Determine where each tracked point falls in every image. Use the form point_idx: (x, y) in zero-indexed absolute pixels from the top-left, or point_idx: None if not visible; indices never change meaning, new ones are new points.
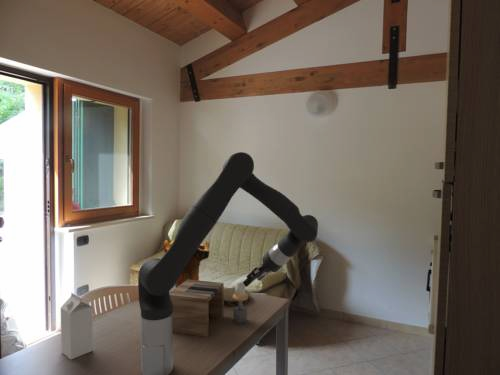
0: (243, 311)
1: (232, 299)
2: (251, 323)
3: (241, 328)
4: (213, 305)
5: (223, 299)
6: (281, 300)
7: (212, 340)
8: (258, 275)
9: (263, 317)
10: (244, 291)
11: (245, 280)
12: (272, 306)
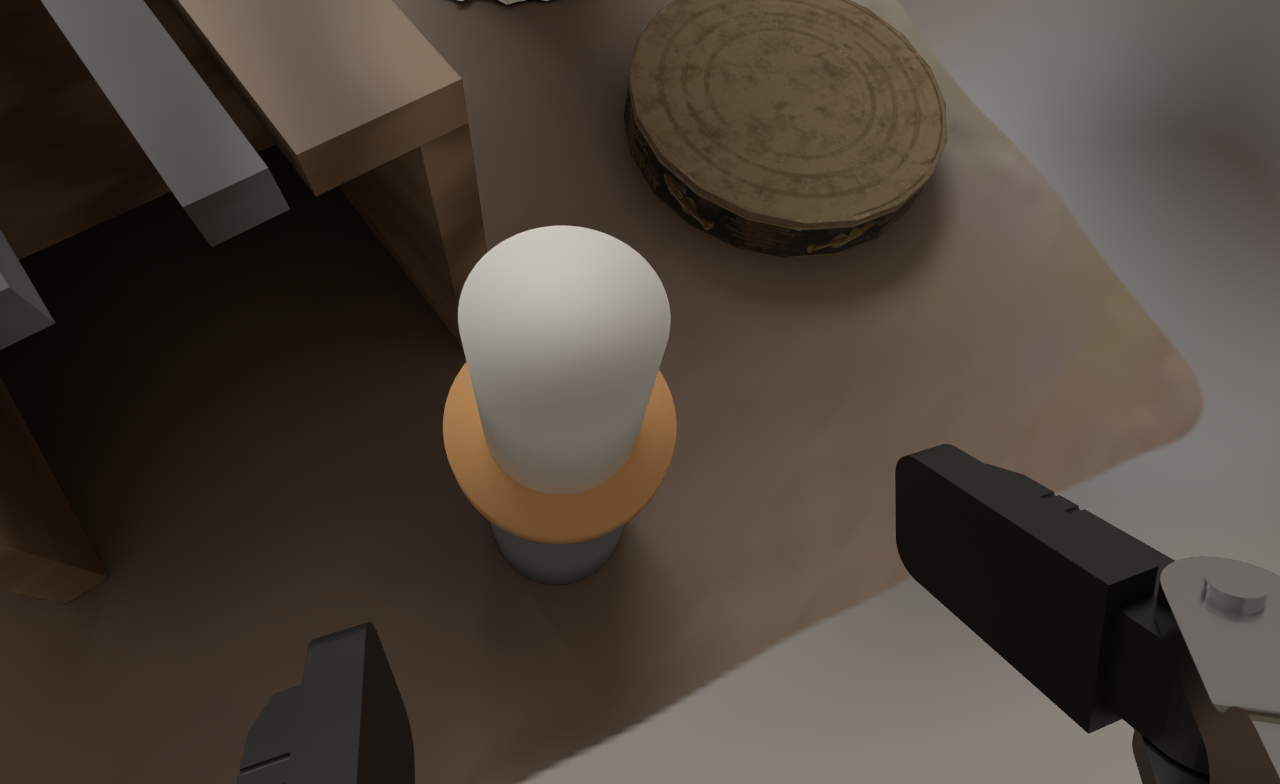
0: (550, 559)
1: (717, 176)
2: (626, 626)
3: (469, 658)
4: (399, 226)
5: (483, 241)
6: (1167, 390)
7: (49, 702)
8: (959, 520)
9: (810, 588)
10: (589, 466)
11: (300, 727)
12: (1022, 442)
